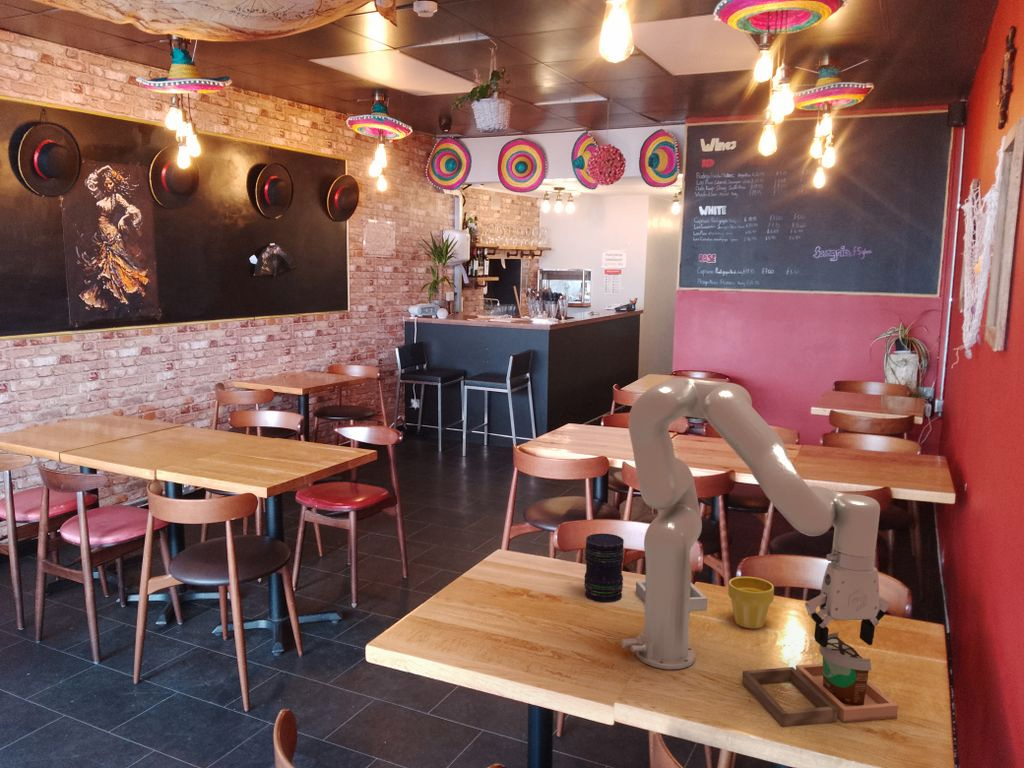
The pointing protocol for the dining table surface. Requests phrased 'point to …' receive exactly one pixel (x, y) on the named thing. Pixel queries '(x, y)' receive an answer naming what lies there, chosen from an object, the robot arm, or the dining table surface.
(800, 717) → the walnut stand frame
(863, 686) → the food container
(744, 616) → the plant pot
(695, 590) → the grey parts rim
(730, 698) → the dining table surface
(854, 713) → the terracotta tray
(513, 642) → the dining table surface
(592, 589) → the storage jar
